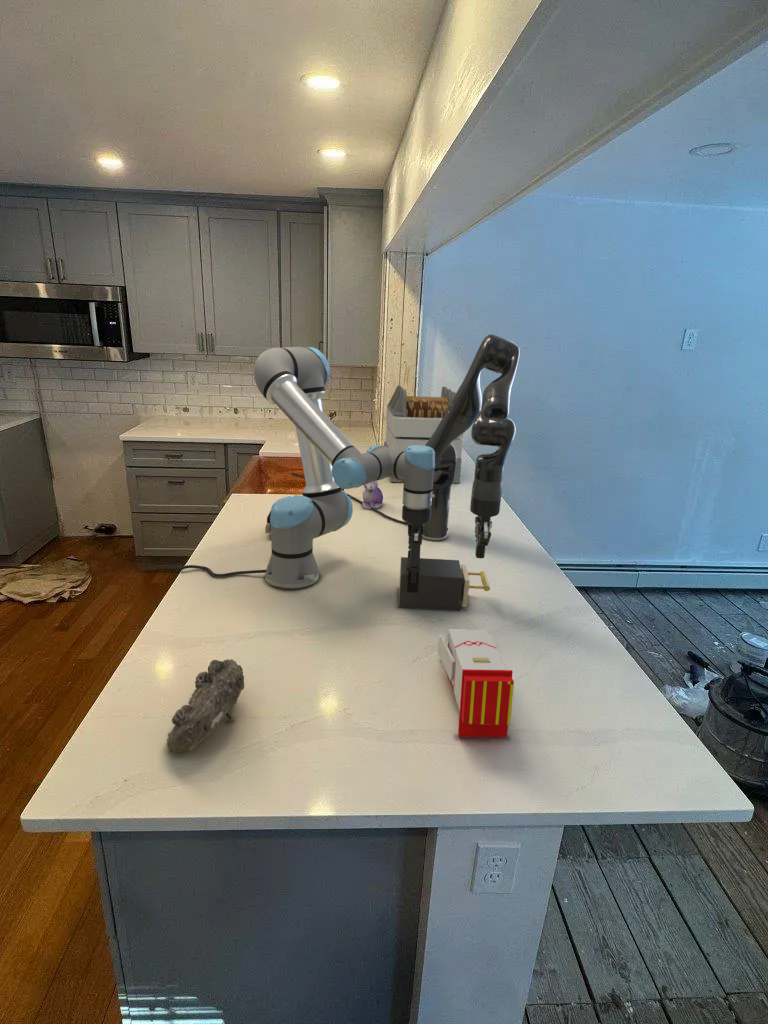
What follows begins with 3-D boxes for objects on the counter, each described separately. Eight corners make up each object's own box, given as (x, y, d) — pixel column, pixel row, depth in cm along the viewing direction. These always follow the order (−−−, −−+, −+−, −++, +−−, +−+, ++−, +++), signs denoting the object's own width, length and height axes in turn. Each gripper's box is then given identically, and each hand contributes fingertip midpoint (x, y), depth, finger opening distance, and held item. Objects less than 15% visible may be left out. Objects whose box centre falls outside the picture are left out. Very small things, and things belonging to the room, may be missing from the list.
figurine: (367, 511, 220) (368, 474, 215) (356, 503, 228) (357, 467, 223) (388, 508, 224) (390, 471, 219) (377, 500, 233) (378, 465, 228)
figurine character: (285, 543, 190) (291, 523, 204) (284, 523, 187) (290, 504, 201) (265, 543, 190) (272, 522, 204) (263, 523, 187) (271, 503, 200)
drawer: (482, 590, 160) (485, 565, 157) (487, 608, 151) (491, 581, 148) (410, 586, 160) (412, 561, 157) (410, 603, 151) (412, 577, 148)
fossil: (192, 660, 117) (244, 628, 112) (224, 691, 120) (276, 661, 115) (142, 746, 98) (202, 712, 93) (182, 779, 101) (242, 748, 96)
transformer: (382, 463, 289) (386, 382, 275) (445, 464, 293) (451, 384, 279) (390, 482, 257) (394, 392, 243) (460, 483, 261) (468, 394, 247)
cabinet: (455, 591, 161) (459, 560, 158) (459, 610, 150) (462, 577, 147) (399, 588, 161) (401, 557, 158) (398, 607, 151) (400, 574, 147)
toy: (488, 613, 130) (523, 677, 101) (484, 667, 133) (517, 744, 104) (435, 612, 130) (455, 676, 101) (432, 666, 133) (451, 743, 103)
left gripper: (433, 522, 136) (427, 603, 143) (429, 492, 158) (424, 564, 165) (402, 520, 136) (397, 602, 143) (402, 491, 158) (398, 562, 165)
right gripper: (505, 504, 139) (497, 568, 145) (497, 488, 151) (490, 547, 157) (474, 502, 139) (468, 566, 145) (468, 486, 151) (463, 546, 157)
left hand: (412, 581), depth 154 cm, fingers closed on cabinet, 11 cm apart
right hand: (479, 556), depth 151 cm, fingers closed
